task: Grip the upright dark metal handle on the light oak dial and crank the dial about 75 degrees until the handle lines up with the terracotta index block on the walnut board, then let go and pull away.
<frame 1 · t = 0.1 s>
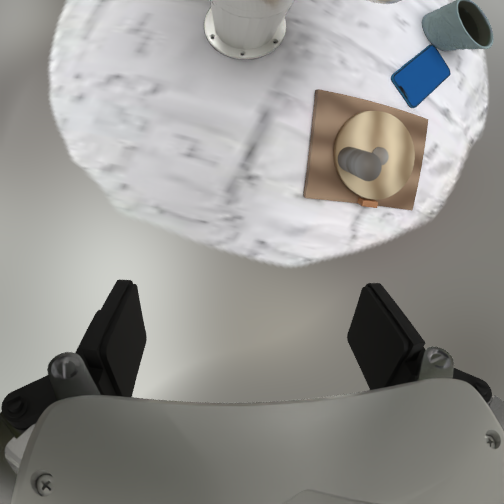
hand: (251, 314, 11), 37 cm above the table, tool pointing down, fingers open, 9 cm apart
board: (369, 152, 44), on the table
dial: (386, 158, 39), point 6 cm above the table, hinge at -75.0°
smartphone: (421, 74, 38), on the table
grey-green cup: (437, 31, 33), on the table
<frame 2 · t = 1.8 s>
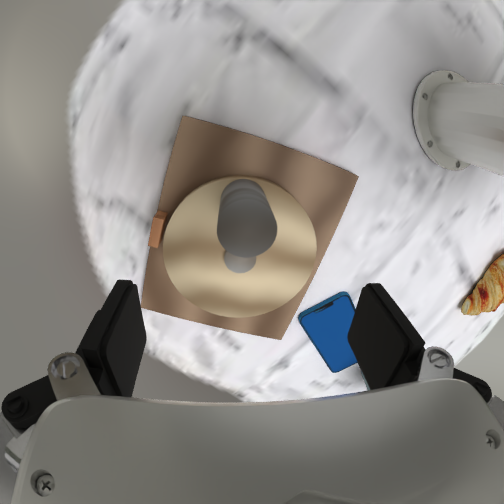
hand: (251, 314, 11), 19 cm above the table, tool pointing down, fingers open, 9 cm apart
board: (239, 241, 31), on the table
croissant: (494, 271, 37), on the table
dial: (241, 270, 25), point 6 cm above the table, hinge at -75.0°
smartphone: (338, 334, 39), on the table
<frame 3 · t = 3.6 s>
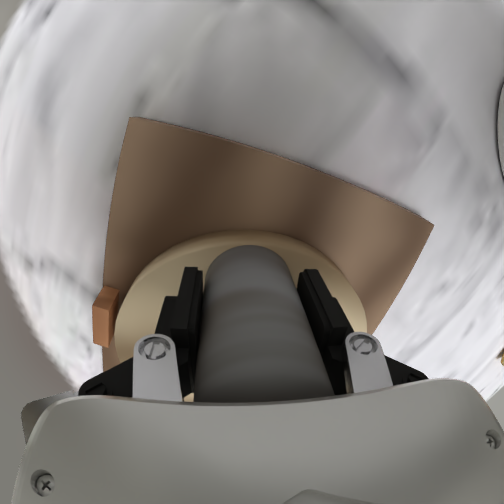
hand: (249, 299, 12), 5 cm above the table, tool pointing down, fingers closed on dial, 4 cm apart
board: (239, 324, 19), on the table
dial: (245, 399, 13), point 6 cm above the table, hinge at -75.1°, touching gripper
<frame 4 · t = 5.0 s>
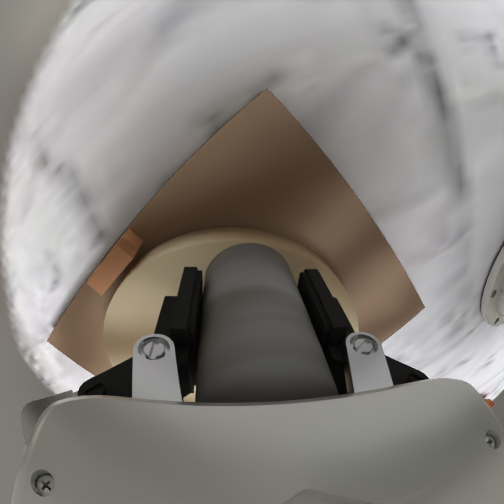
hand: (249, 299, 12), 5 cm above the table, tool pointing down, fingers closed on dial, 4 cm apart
board: (230, 323, 19), on the table
dial: (234, 399, 13), point 6 cm above the table, hinge at -52.6°, touching gripper
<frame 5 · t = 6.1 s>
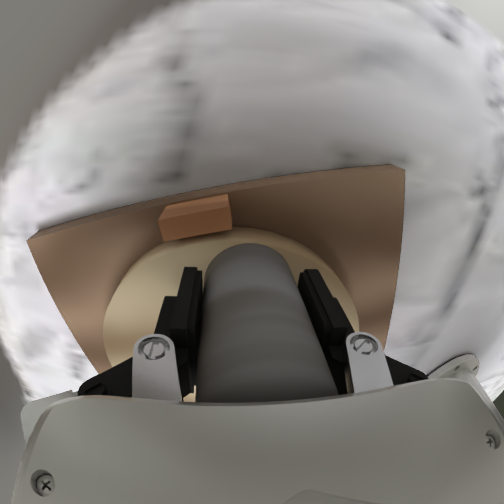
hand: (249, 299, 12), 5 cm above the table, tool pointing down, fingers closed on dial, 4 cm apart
board: (230, 323, 19), on the table
dial: (234, 399, 13), point 6 cm above the table, hinge at -18.4°, touching gripper
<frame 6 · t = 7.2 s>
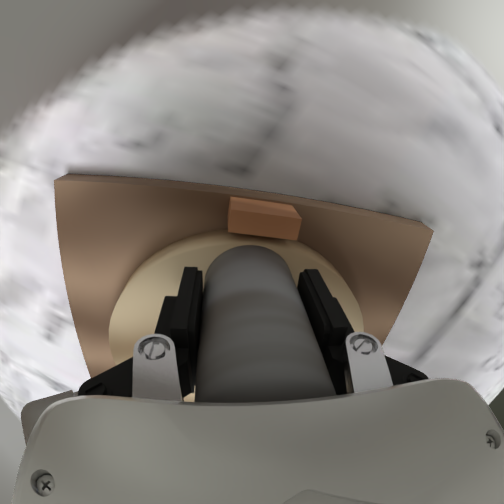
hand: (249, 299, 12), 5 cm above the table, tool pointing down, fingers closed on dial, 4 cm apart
board: (235, 324, 19), on the table
dial: (240, 400, 13), point 6 cm above the table, hinge at 2.7°, touching gripper
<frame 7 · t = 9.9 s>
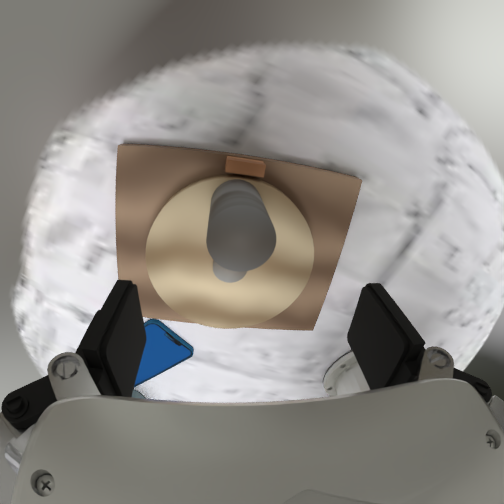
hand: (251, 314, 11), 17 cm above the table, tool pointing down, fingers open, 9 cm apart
board: (229, 246, 28), on the table
dial: (231, 280, 23), point 6 cm above the table, hinge at 3.0°
smartphone: (140, 354, 35), on the table
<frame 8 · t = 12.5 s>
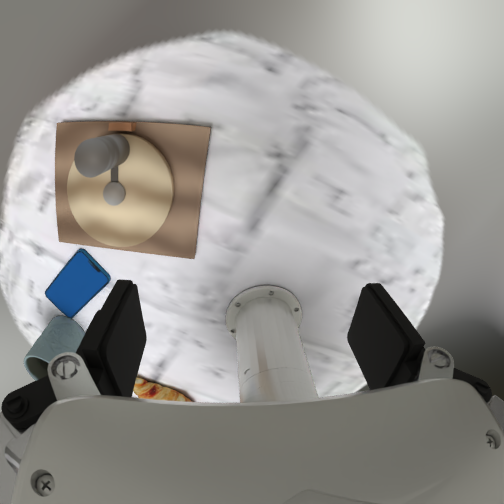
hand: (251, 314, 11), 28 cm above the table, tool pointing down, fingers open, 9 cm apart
board: (124, 186, 36), on the table
croissant: (170, 396, 56), on the table
dial: (107, 198, 30), point 6 cm above the table, hinge at 3.0°
smartphone: (76, 284, 42), on the table
grey-green cup: (69, 332, 47), on the table
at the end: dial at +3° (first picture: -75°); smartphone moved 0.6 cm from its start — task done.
